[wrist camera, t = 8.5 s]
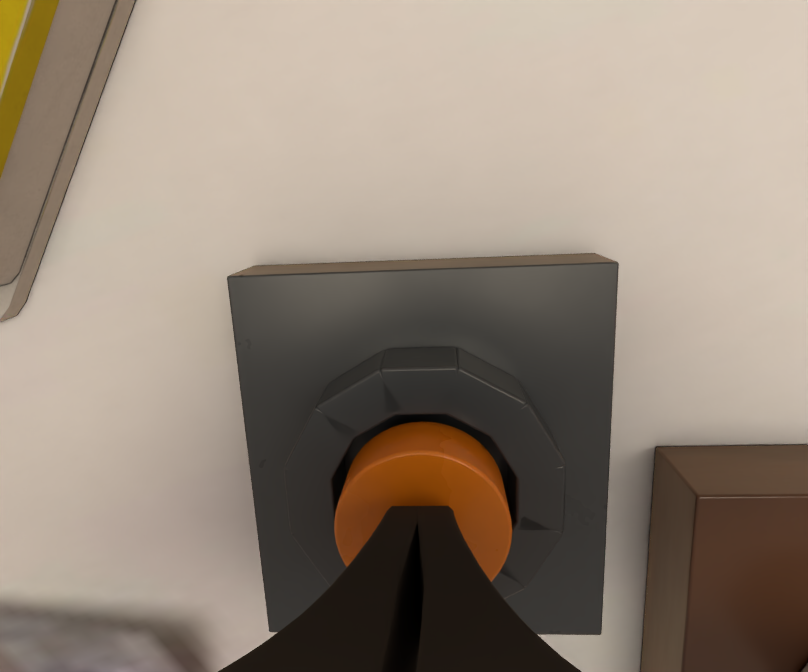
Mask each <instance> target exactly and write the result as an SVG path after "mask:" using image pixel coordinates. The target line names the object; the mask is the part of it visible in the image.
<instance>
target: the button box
mask: <svg viewBox="0 0 808 672" xmlns="http://www.w3.org/2000/svg"><path fill="white" fill-rule="evenodd" d="M618 266H619V264H618V262H616V261H613V260H611V259H608V258H606V257H603V256H600V255H598V254H595V253H584V254H557V255H531V256H504V257H477V258H450V259H423V260H396V261H370V262H343V263H316V264H289V265H262V266H252V267H250V268H247V269H245V270H242V271H240V272H237V273H235V274H232V275H230V276H228V277H227V280H228V289H229V297H230V305H231V314H232V322H233V331H234V339H235V347H236V356H237V364H238V373H239V381H240V389H241V398H242V406H243V415H244V423H245V431H246V440H247V448H248V456H249V465H250V473H251V482H252V490H253V498H254V507H255V515H256V524H257V532H258V540H259V549H260V557H261V565H262V574H263V582H264V591H265V599H266V607H267V616H268V624H269V631H270V632H279V631H280V630H282V629H283V628H284V627H286V626H287V625H288V624H290V623H291V622H292V621H293V620H295V619H296V618H297V617H299V616H300V615H301V614H302V613H303V612H304V611H305V610H306V609H308V608H309V607H310V606H311V605H312V604H313V603H314V602H315V601H316V600H317V599H318V598H319V597H320V596H321V595H322V594H323V593H324V592H325V591H326V590H327V589H328V588H329V587H330V586H331V585H332V584H333V583H334V581H335V580H336V579H337V578H338V577H339V576H340V575H341V573H342V572H343V571H344V570H345V569H346V568H347V567H346V565H345V564H344V562H343V560H342V558H341V556H340V553H339V551H338V547H337V544H336V540H335V533H334V519H335V512H336V508H337V505H338V501H339V498H340V495H341V492H342V489H343V486H344V483H345V480H346V477H347V474H348V471H349V468H350V466H351V464H352V462H353V460H354V458H355V457H356V455H357V453H358V452H359V451H360V450H361V448H362V447H363V446H364V445H365V444H366V443H367V442H368V441H370V440H371V439H372V438H373V437H375V436H376V435H378V434H379V433H381V432H383V431H385V430H387V429H389V428H391V427H394V426H397V425H400V424H405V423H410V422H421V421H422V422H435V423H441V424H445V425H449V426H452V427H455V428H457V429H459V430H462V431H464V432H465V433H467V434H469V435H470V436H472V437H473V438H475V439H476V440H477V441H478V442H480V443H481V444H482V445H483V446H484V447H485V448H486V449H487V450H488V452H489V453H490V454H491V456H492V457H493V458H494V460H495V462H496V464H497V466H498V468H499V470H500V473H501V476H502V480H503V484H504V489H505V493H506V498H507V502H508V507H509V511H510V516H511V521H512V541H511V546H510V550H509V553H508V556H507V559H506V561H505V563H504V565H503V566H502V568H501V570H500V572H499V573H498V574H497V576H496V577H495V578H494V579H493V581H492V584H493V585H494V587H495V588H496V589H497V591H498V592H499V593H500V595H501V596H502V597H503V598H504V600H505V601H506V602H507V603H508V604H509V606H510V607H511V608H512V609H513V610H514V611H515V612H516V613H517V615H518V616H519V617H520V618H521V619H522V620H523V621H524V622H525V623H526V624H527V625H528V626H529V627H530V628H531V629H532V630H533V631H534V632H535V633H536V634H566V635H600V634H601V630H602V609H603V587H604V566H605V544H606V523H607V502H608V480H609V459H610V437H611V416H612V394H613V373H614V351H615V330H616V309H617V287H618Z"/></svg>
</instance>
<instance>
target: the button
mask: <svg viewBox="0 0 808 672" xmlns="http://www.w3.org/2000/svg"><path fill="white" fill-rule="evenodd" d="M391 506H449V507H450V508H451V509H452V510H453V511H454V516H455V519H456V522H457V524H458V527H459V529H460V531H461V533H462V535H463V537H464V539H465V541H466V543H467V545H468V547H469V548H470V550H471V552H472V553H473V555H474V557H475V558H476V560H477V562H478V563H479V565H480V567H481V568H482V570H483V571H484V573H485V574H486V575H487V577H488V578H489V580H490V581H491V582H492V581H493V579H494V578H495V577H496V576H497V574H498V573H499V572H500V570H501V568H502V566H503V565H504V563H505V561H506V559H507V556H508V553H509V550H510V546H511V541H512V521H511V516H510V511H509V507H508V502H507V498H506V493H505V489H504V484H503V480H502V476H501V473H500V470H499V468H498V466H497V464H496V462H495V460H494V458H493V457H492V456H491V454H490V453H489V452H488V450H487V449H486V448H485V447H484V446H483V445H482V444H481V443H480V442H478V441H477V440H476V439H475V438H473V437H472V436H470V435H469V434H467V433H465V432H464V431H462V430H459V429H457V428H455V427H452V426H449V425H445V424H441V423H435V422H422V421H421V422H410V423H405V424H400V425H397V426H394V427H391V428H389V429H387V430H385V431H383V432H381V433H379V434H378V435H376V436H375V437H373V438H372V439H371V440H370V441H368V442H367V443H366V444H365V445H364V446H363V447H362V448H361V450H360V451H359V452H358V453H357V455H356V457H355V458H354V460H353V462H352V464H351V466H350V468H349V471H348V474H347V477H346V480H345V483H344V486H343V489H342V492H341V495H340V498H339V501H338V505H337V508H336V512H335V519H334V533H335V540H336V544H337V547H338V551H339V553H340V556H341V558H342V560H343V562H344V564H345V565H346V567H348V565H349V564H350V563H351V562H352V561H353V559H354V558H355V557H356V555H357V554H358V553H359V551H360V550H361V549H362V547H363V546H364V545H365V543H366V542H367V541H368V539H369V538H370V537H371V535H372V534H373V532H374V531H375V529H376V528H377V526H378V525H379V523H380V522H381V520H382V518H383V517H384V515H385V513H386V511H387V510H388V509H389V508H390V507H391Z"/></svg>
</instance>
